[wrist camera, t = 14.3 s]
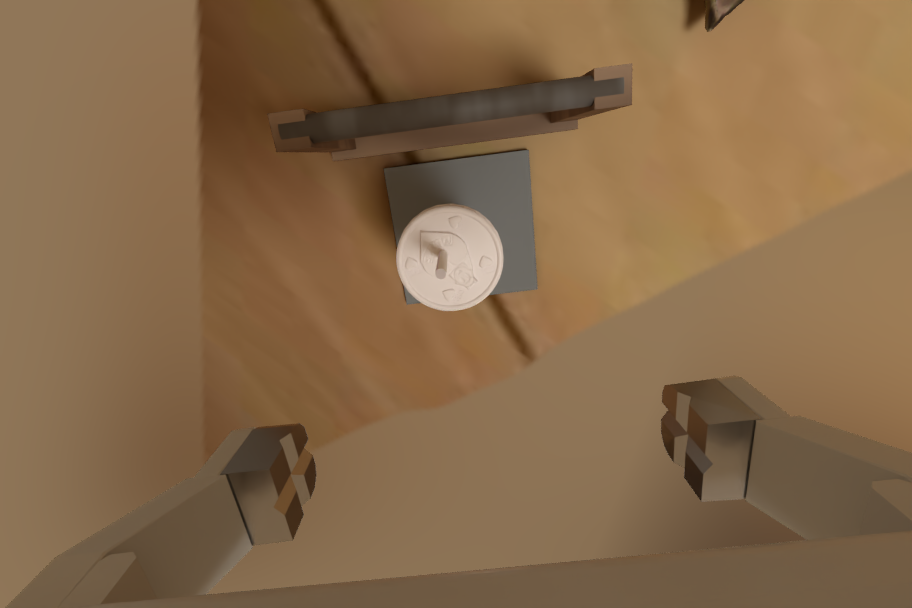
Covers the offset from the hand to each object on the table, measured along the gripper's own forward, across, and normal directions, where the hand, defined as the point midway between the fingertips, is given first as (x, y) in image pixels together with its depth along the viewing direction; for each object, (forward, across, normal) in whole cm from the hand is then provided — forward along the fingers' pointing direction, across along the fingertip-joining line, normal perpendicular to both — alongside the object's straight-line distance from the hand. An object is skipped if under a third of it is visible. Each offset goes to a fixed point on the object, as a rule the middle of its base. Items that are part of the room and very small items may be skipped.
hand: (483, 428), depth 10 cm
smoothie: (+26, +1, 0) cm, 26 cm away
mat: (+26, 0, 0) cm, 26 cm away
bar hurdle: (+26, 0, -8) cm, 28 cm away
